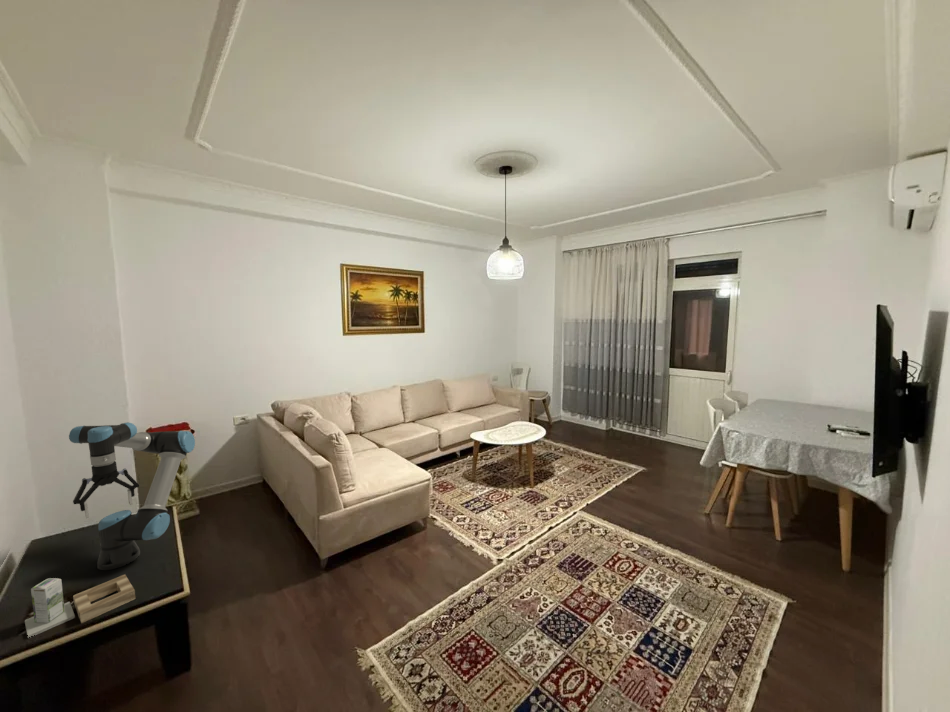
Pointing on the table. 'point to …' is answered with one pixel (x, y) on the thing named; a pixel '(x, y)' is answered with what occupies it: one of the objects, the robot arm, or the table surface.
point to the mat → (41, 627)
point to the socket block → (104, 605)
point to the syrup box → (47, 600)
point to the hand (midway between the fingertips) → (109, 510)
